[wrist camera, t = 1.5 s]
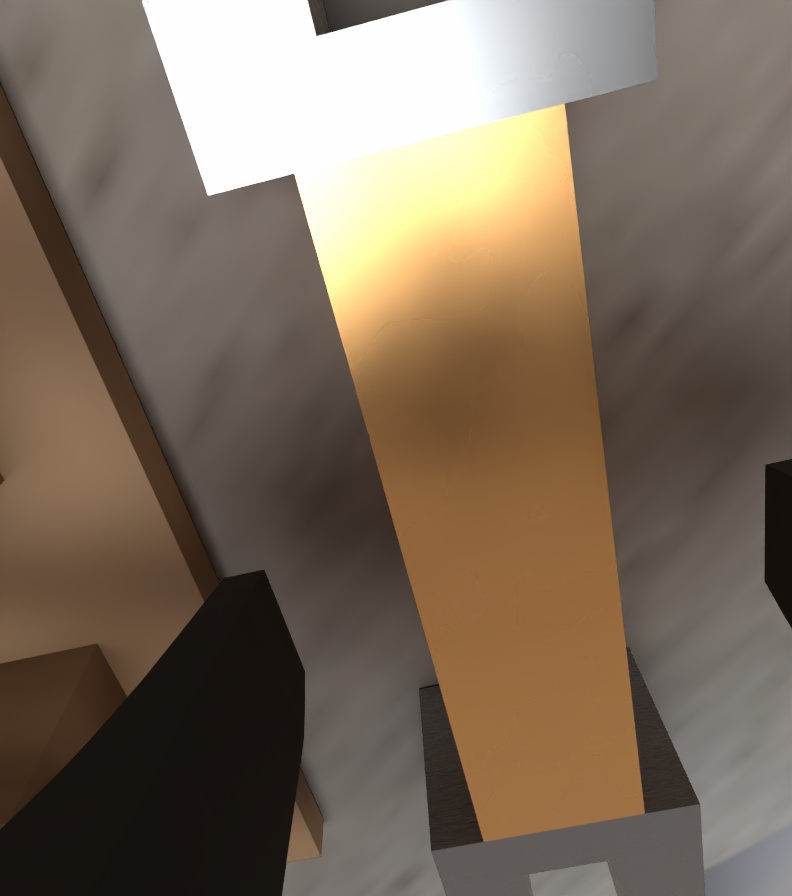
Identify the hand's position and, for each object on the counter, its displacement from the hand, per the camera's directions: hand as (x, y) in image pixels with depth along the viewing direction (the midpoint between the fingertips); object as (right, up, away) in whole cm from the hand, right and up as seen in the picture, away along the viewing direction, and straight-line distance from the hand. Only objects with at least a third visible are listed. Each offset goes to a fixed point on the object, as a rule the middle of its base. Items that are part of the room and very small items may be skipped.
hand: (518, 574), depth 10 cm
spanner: (0, +2, +4) cm, 4 cm away
